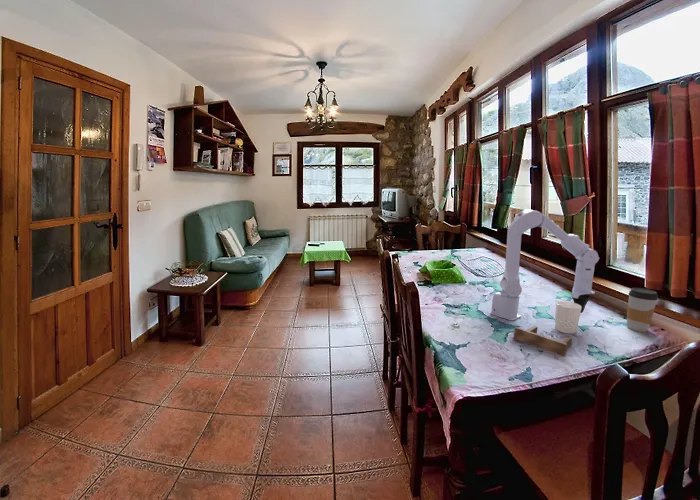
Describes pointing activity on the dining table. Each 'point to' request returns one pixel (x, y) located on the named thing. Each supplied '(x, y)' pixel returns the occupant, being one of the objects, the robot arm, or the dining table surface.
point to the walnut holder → (542, 340)
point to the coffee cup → (640, 308)
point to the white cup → (567, 316)
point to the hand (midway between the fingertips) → (578, 312)
